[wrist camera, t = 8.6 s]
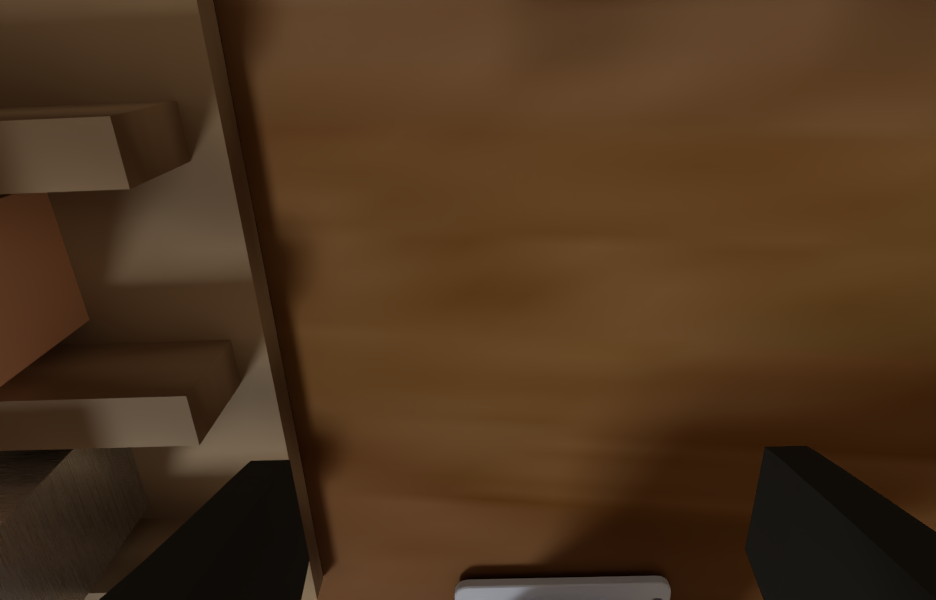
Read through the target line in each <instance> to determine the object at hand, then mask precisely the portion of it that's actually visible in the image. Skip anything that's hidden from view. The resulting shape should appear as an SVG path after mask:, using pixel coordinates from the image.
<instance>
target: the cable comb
mask: <svg viewBox="0 0 936 600" xmlns="http://www.w3.org/2000/svg"><path fill="white" fill-rule="evenodd" d="M46 192H47V194H48V197H49V200H50V203H51V206H52V209H53V212H54V215H55V218H56V221H57V224H58V227H59V230H60V233H61V236H62V239H63V242H64V245H65V248H66V251H67V254H68V257H69V260H70V263H71V266H72V269H73V272H74V275H75V278H76V281H77V284H78V287H79V290H80V293H81V296H82V299H83V302H84V304H85V307H86V310H87V313H88V316H89V319H90V320H89V321H87V322H86V323H85V324H83V325H82V326H81V327H79V328H78V329H77V330H75V331H74V332H73V333H71V334H70V335H69V336H67V337H66V338H65V339H63V340H62V341H61V342H59V343H58V344H57V345H55V346H54V347H53V348H51V349H50V350H49V351H47V352H46V353H45V354H43V355H42V356H41V357H39V358H38V359H37V360H35V361H34V362H33V363H31V364H30V365H29V366H27V367H26V368H25V369H23V370H22V371H21V372H19V373H18V374H17V375H15V376H14V377H13V378H11V379H10V380H9V381H7V382H6V383H5V384H3V385H2V386H1V387H0V451H16V450H53V449H89V448H125V447H131V449H132V452H133V455H134V458H135V461H136V464H137V468H138V471H139V474H140V477H141V480H142V483H143V486H144V489H145V492H146V495H147V498H148V501H149V504H150V505H149V506H148V508H147V509H146V510H145V512H144V513H143V515H142V516H141V518H140V519H139V521H138V522H137V524H136V525H135V526H134V528H133V529H132V531H131V532H130V534H129V535H128V537H127V538H126V539H125V541H124V542H123V544H122V545H121V547H120V548H119V550H118V551H117V553H116V554H115V555H114V557H113V558H112V560H111V561H110V563H109V564H108V566H107V567H106V569H105V570H104V571H103V573H102V574H101V576H100V577H99V579H98V580H97V582H96V583H95V585H94V586H93V587H92V589H91V590H90V592H89V593H88V595H87V596H86V598H85V599H84V600H99V599H100V598H101V597H103V596H104V595H105V594H106V593H107V592H108V591H110V590H111V589H112V588H113V587H114V586H115V585H117V584H118V583H119V582H120V581H121V580H122V579H124V578H125V577H126V576H127V575H128V574H129V573H131V572H132V571H133V570H134V569H135V568H136V567H137V566H139V565H140V564H141V563H142V562H143V561H144V560H145V559H146V558H147V557H148V556H150V555H151V554H152V553H153V552H154V551H155V550H156V549H157V548H158V547H159V546H160V545H161V544H163V543H164V542H165V541H166V540H167V539H168V538H169V537H170V536H171V535H172V534H173V533H174V532H175V531H177V530H178V529H179V528H180V527H181V526H182V525H183V524H184V523H185V522H186V521H187V520H188V519H189V518H190V517H192V516H193V515H194V514H195V513H196V512H197V511H198V510H199V509H200V508H201V507H202V506H203V505H204V504H205V503H206V502H207V501H208V500H209V499H210V498H211V497H212V496H214V495H215V494H216V493H217V492H218V491H219V490H220V489H221V488H222V487H223V486H224V485H225V484H226V483H227V482H228V481H229V480H230V479H231V478H232V477H233V476H235V475H236V474H237V473H238V472H239V471H240V470H241V469H242V468H243V467H244V466H245V465H247V464H248V463H249V462H250V461H261V460H290V463H291V468H292V473H293V478H294V483H295V488H296V493H297V498H298V503H299V508H300V513H301V518H302V523H303V528H304V533H305V538H306V543H307V548H308V553H309V558H310V560H309V565H308V570H307V575H306V580H305V585H304V590H303V595H302V599H301V600H317V598H318V595H319V591H320V587H321V584H322V580H323V573H322V568H321V563H320V557H319V552H318V547H317V542H316V536H315V531H314V526H313V521H312V515H311V510H310V505H309V500H308V494H307V489H306V484H305V479H304V473H303V468H302V463H301V458H300V453H299V447H298V442H297V437H296V432H295V426H294V421H293V416H292V411H291V405H290V400H289V395H288V390H287V384H286V379H285V374H284V369H283V363H282V358H281V353H280V348H279V343H278V337H277V332H276V327H275V322H274V316H273V311H272V306H271V301H270V295H269V290H268V285H267V280H266V274H265V269H264V264H263V259H262V254H261V248H260V243H259V238H258V233H257V227H256V222H255V217H254V212H253V206H252V201H251V196H250V191H249V185H248V180H247V175H246V170H245V164H244V159H243V154H242V149H241V144H240V138H239V133H238V128H237V123H236V117H235V112H234V107H233V102H232V96H231V91H230V86H229V81H228V75H227V70H226V65H225V60H224V54H223V49H222V44H221V39H220V34H219V28H218V23H217V18H216V13H215V7H214V2H213V0H0V194H20V193H46Z"/></svg>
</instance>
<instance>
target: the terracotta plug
mask: <svg viewBox="0 0 936 600" xmlns="http://www.w3.org/2000/svg"><path fill="white" fill-rule="evenodd" d="M89 320H90V319H89V316H88V313H87V310H86V307H85V304H84V302H83V299H82V296H81V293H80V290H79V287H78V284H77V281H76V278H75V275H74V272H73V269H72V266H71V263H70V260H69V257H68V254H67V251H66V248H65V245H64V242H63V239H62V236H61V233H60V230H59V227H58V224H57V221H56V218H55V215H54V212H53V209H52V206H51V203H50V200H49V197H48V194H47V192H46V193H20V194H0V387H1V386H2V385H3V384H5V383H6V382H7V381H9V380H10V379H11V378H13V377H14V376H15V375H17V374H18V373H19V372H21V371H22V370H23V369H25V368H26V367H27V366H29V365H30V364H31V363H33V362H34V361H35V360H37V359H38V358H39V357H41V356H42V355H43V354H45V353H46V352H47V351H49V350H50V349H51V348H53V347H54V346H55V345H57V344H58V343H59V342H61V341H62V340H63V339H65V338H66V337H67V336H69V335H70V334H71V333H73V332H74V331H75V330H77V329H78V328H79V327H81V326H82V325H83V324H85V323H86V322H87V321H89Z"/></svg>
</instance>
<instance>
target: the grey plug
mask: <svg viewBox="0 0 936 600" xmlns="http://www.w3.org/2000/svg"><path fill="white" fill-rule="evenodd" d="M149 505H150V504H149V501H148V498H147V495H146V492H145V489H144V486H143V483H142V480H141V477H140V474H139V471H138V468H137V464H136V461H135V458H134V455H133V452H132V449H131V447H125V448H89V449H53V450H16V451H0V600H84V599H85V598H86V596H87V595H88V593H89V592H90V590H91V589H92V587H93V586H94V585H95V583H96V582H97V580H98V579H99V577H100V576H101V574H102V573H103V571H104V570H105V569H106V567H107V566H108V564H109V563H110V561H111V560H112V558H113V557H114V555H115V554H116V553H117V551H118V550H119V548H120V547H121V545H122V544H123V542H124V541H125V539H126V538H127V537H128V535H129V534H130V532H131V531H132V529H133V528H134V526H135V525H136V524H137V522H138V521H139V519H140V518H141V516H142V515H143V513H144V512H145V510H146V509H147V508H148V506H149Z"/></svg>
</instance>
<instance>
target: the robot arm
mask: <svg viewBox="0 0 936 600" xmlns="http://www.w3.org/2000/svg"><path fill="white" fill-rule="evenodd" d="M745 550H746V553H747V555H748V558H749V561H750V564H751V566H752V569H753V572H754V575H755V578H756V580H757V583H758V586H759V589H760V591H761V594H762V596H763V599H764V600H936V532H935V531H934V530H932V529H931V528H929V527H928V526H926V525H925V524H923V523H922V522H920V521H919V520H917V519H916V518H914V517H913V516H911V515H910V514H908V513H907V512H905V511H904V510H902V509H901V508H899V507H898V506H896V505H895V504H894V503H892V502H891V501H889V500H888V499H886V498H885V497H883V496H882V495H880V494H879V493H877V492H876V491H874V490H873V489H872V488H870V487H869V486H867V485H866V484H864V483H863V482H861V481H860V480H858V479H857V478H855V477H854V476H852V475H851V474H849V473H848V472H846V471H845V470H843V469H842V468H840V467H839V466H837V465H836V464H834V463H833V462H831V461H830V460H828V459H827V458H825V457H824V456H822V455H820V454H819V453H817V452H816V451H814V450H812V449H811V448H809V447H807V446H785V447H765V450H764V455H763V460H762V465H761V471H760V476H759V481H758V486H757V491H756V497H755V502H754V507H753V512H752V517H751V522H750V528H749V533H748V538H747V543H746V548H745ZM309 560H310V558H309V553H308V548H307V543H306V538H305V533H304V528H303V523H302V518H301V513H300V508H299V503H298V498H297V493H296V488H295V483H294V478H293V473H292V468H291V463H290V460H261V461H250V462H249V463H248V464H247V465H245V466H244V467H243V468H242V469H241V470H240V471H239V472H238V473H237V474H236V475H235V476H233V477H232V478H231V479H230V480H229V481H228V482H227V483H226V484H225V485H224V486H223V487H222V488H221V489H220V490H219V491H218V492H217V493H216V494H215V495H214V496H212V497H211V498H210V499H209V500H208V501H207V502H206V503H205V504H204V505H203V506H202V507H201V508H200V509H199V510H198V511H197V512H196V513H195V514H194V515H193V516H192V517H190V518H189V519H188V520H187V521H186V522H185V523H184V524H183V525H182V526H181V527H180V528H179V529H178V530H177V531H175V532H174V533H173V534H172V535H171V536H170V537H169V538H168V539H167V540H166V541H165V542H164V543H163V544H161V545H160V546H159V547H158V548H157V549H156V550H155V551H154V552H153V553H152V554H151V555H150V556H148V557H147V558H146V559H145V560H144V561H143V562H142V563H141V564H140V565H139V566H137V567H136V568H135V569H134V570H133V571H132V572H131V573H129V574H128V575H127V576H126V577H125V578H124V579H122V580H121V581H120V582H119V583H118V584H117V585H115V586H114V587H113V588H112V589H111V590H110V591H108V592H107V593H106V594H105V595H104V596H103V597H101V598H100V599H99V600H301V599H302V595H303V590H304V585H305V580H306V575H307V570H308V565H309ZM670 596H671V588H670V585H669V582H668V581H667V579H666V578H664V577H662V576H612V577H564V578H517V579H470V580H463V581H461V582H459V583H458V584H457V585H456V588H455V600H670ZM654 598H655V599H654Z"/></svg>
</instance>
